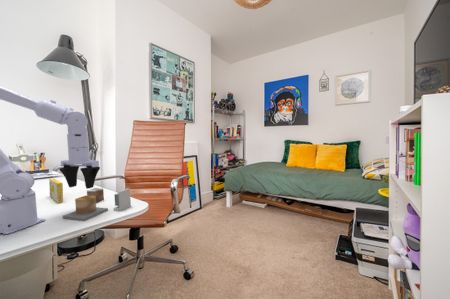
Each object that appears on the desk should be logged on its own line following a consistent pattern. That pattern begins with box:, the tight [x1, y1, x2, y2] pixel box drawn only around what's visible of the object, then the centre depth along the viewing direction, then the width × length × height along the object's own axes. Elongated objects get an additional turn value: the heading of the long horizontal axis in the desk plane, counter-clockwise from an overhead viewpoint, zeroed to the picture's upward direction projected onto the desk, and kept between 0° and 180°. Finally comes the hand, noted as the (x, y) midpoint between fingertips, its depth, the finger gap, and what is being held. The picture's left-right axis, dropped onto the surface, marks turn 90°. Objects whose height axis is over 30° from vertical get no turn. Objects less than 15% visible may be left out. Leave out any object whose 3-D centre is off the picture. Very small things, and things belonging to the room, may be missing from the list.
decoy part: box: [86, 187, 105, 204], centre depth 82 cm, size 4×4×5 cm
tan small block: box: [74, 194, 97, 215], centre depth 68 cm, size 4×4×5 cm
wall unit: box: [113, 187, 132, 212], centre depth 73 cm, size 5×3×7 cm, turn 165°
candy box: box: [48, 178, 64, 204], centre depth 86 cm, size 16×2×8 cm, turn 50°
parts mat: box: [62, 206, 109, 222], centre depth 68 cm, size 9×9×1 cm
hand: (81, 187), depth 69 cm, fingers open, 7 cm apart
